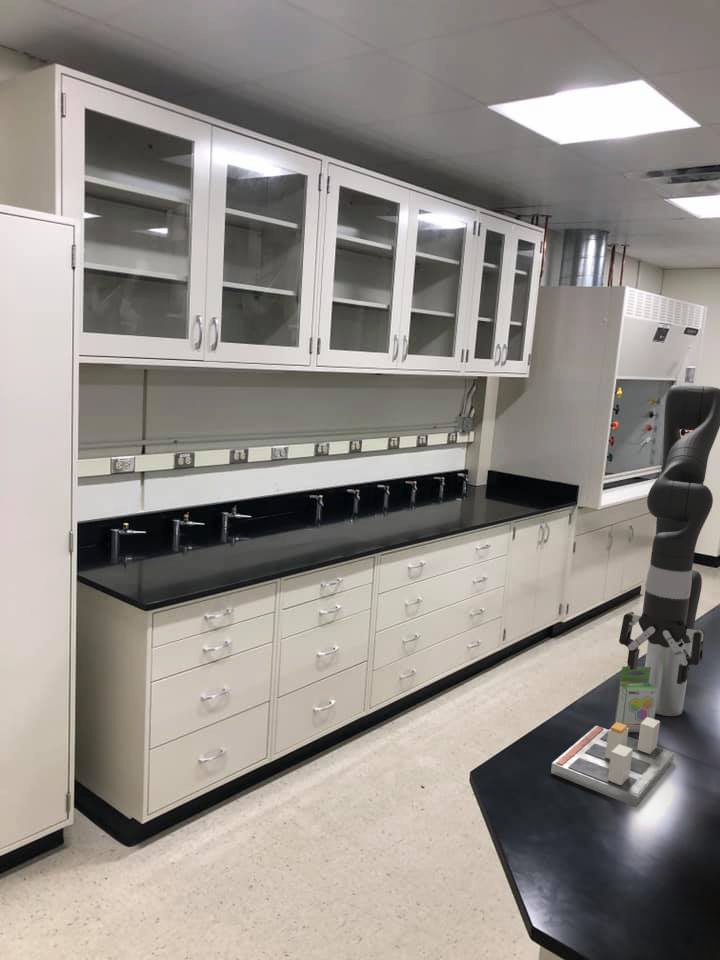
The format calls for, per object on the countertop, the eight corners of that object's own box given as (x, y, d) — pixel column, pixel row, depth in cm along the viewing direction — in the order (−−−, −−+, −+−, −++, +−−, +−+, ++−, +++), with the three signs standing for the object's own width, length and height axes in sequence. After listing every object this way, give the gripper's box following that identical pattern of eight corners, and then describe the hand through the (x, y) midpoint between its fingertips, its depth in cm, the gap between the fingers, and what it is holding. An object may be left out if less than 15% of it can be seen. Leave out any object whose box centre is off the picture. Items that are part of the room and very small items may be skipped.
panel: (595, 734, 161) (596, 724, 161) (673, 762, 152) (674, 752, 151) (550, 772, 144) (552, 762, 144) (636, 807, 134) (637, 795, 134)
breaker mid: (612, 750, 150) (616, 720, 149) (625, 754, 148) (629, 725, 148) (604, 757, 147) (608, 727, 146) (617, 762, 145) (621, 732, 144)
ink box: (622, 733, 163) (630, 673, 161) (613, 724, 167) (621, 665, 165) (652, 733, 164) (661, 673, 162) (643, 724, 168) (651, 666, 166)
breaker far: (643, 742, 154) (647, 717, 153) (656, 747, 153) (660, 721, 152) (637, 749, 151) (640, 723, 150) (650, 754, 149) (653, 727, 149)
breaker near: (615, 772, 142) (619, 744, 141) (629, 777, 140) (632, 748, 139) (607, 780, 138) (611, 751, 138) (621, 785, 137) (625, 756, 136)
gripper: (715, 596, 137) (702, 682, 140) (635, 578, 146) (625, 659, 148) (703, 604, 131) (690, 694, 134) (621, 585, 140) (610, 669, 143)
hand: (656, 675), depth 141 cm, fingers open, 8 cm apart
